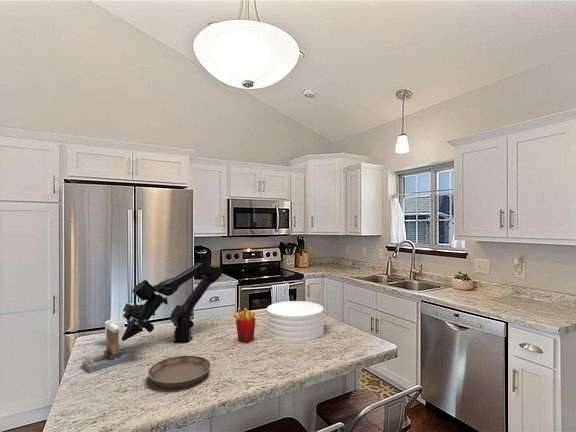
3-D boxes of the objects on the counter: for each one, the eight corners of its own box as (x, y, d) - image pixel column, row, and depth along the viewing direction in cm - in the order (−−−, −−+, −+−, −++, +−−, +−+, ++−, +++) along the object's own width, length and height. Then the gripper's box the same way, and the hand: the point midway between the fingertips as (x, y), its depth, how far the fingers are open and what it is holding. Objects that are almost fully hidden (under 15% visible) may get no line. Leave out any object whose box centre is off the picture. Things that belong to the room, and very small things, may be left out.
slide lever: (114, 351, 127) (114, 320, 127) (121, 356, 122) (121, 324, 123) (103, 354, 124) (103, 323, 124) (110, 359, 119) (110, 326, 120)
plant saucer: (220, 366, 118) (220, 357, 118) (192, 395, 98) (192, 384, 98) (170, 361, 123) (170, 353, 123) (134, 388, 103) (134, 378, 103)
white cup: (104, 348, 137) (104, 324, 137) (105, 342, 144) (105, 320, 144) (124, 344, 141) (124, 322, 141) (124, 339, 148) (124, 317, 148)
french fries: (245, 336, 149) (245, 304, 149) (259, 340, 144) (258, 307, 144) (232, 342, 141) (231, 309, 142) (246, 346, 137) (245, 311, 137)
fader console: (124, 354, 130) (124, 348, 130) (132, 359, 125) (132, 354, 125) (82, 366, 119) (82, 360, 119) (89, 372, 114) (89, 367, 114)
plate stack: (333, 327, 161) (332, 305, 161) (306, 346, 137) (306, 319, 137) (286, 319, 176) (286, 298, 176) (255, 334, 152) (255, 310, 152)
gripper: (127, 292, 137) (98, 324, 128) (146, 299, 124) (115, 334, 116) (146, 307, 142) (119, 338, 134) (165, 315, 130) (137, 350, 121)
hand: (122, 340), depth 126 cm, fingers closed
